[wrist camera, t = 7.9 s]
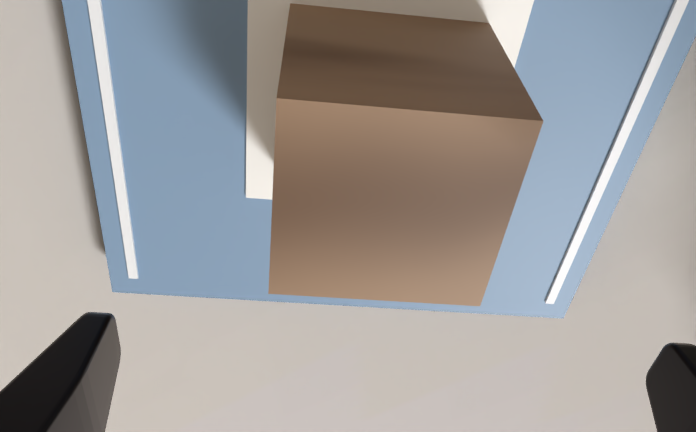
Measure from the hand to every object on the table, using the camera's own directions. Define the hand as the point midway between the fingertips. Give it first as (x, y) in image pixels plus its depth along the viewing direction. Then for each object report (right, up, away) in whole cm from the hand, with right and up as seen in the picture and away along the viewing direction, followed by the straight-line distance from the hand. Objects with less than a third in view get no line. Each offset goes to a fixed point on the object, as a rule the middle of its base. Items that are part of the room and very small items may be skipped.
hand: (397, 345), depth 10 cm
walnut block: (0, +5, +7) cm, 9 cm away
